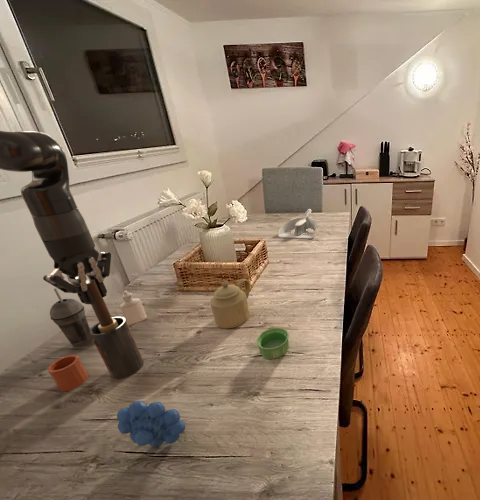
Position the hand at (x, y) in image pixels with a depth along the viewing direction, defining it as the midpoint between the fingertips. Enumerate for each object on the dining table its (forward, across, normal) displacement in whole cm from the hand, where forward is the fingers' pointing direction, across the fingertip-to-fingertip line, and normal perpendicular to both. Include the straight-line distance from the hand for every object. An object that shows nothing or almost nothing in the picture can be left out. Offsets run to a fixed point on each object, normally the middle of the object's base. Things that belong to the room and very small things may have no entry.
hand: (95, 299), depth 67 cm
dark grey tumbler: (+23, 0, 0) cm, 23 cm away
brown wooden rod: (+14, 0, 0) cm, 14 cm away
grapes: (+23, +17, +24) cm, 37 cm away
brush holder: (+23, +6, -10) cm, 25 cm away
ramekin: (+23, -12, +37) cm, 45 cm away
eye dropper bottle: (+23, -19, -15) cm, 34 cm away
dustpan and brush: (+23, -116, +14) cm, 120 cm away
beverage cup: (+23, -8, -23) cm, 33 cm away
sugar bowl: (+23, -26, +16) cm, 39 cm away
